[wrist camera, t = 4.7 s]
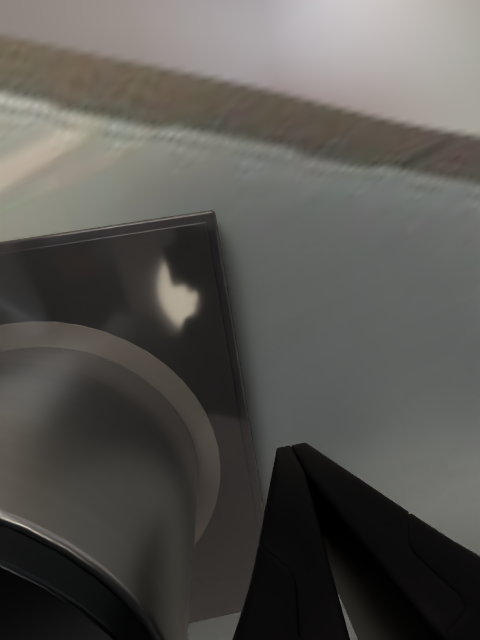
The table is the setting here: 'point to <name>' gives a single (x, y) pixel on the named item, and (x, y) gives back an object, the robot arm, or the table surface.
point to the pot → (92, 502)
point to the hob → (156, 360)
